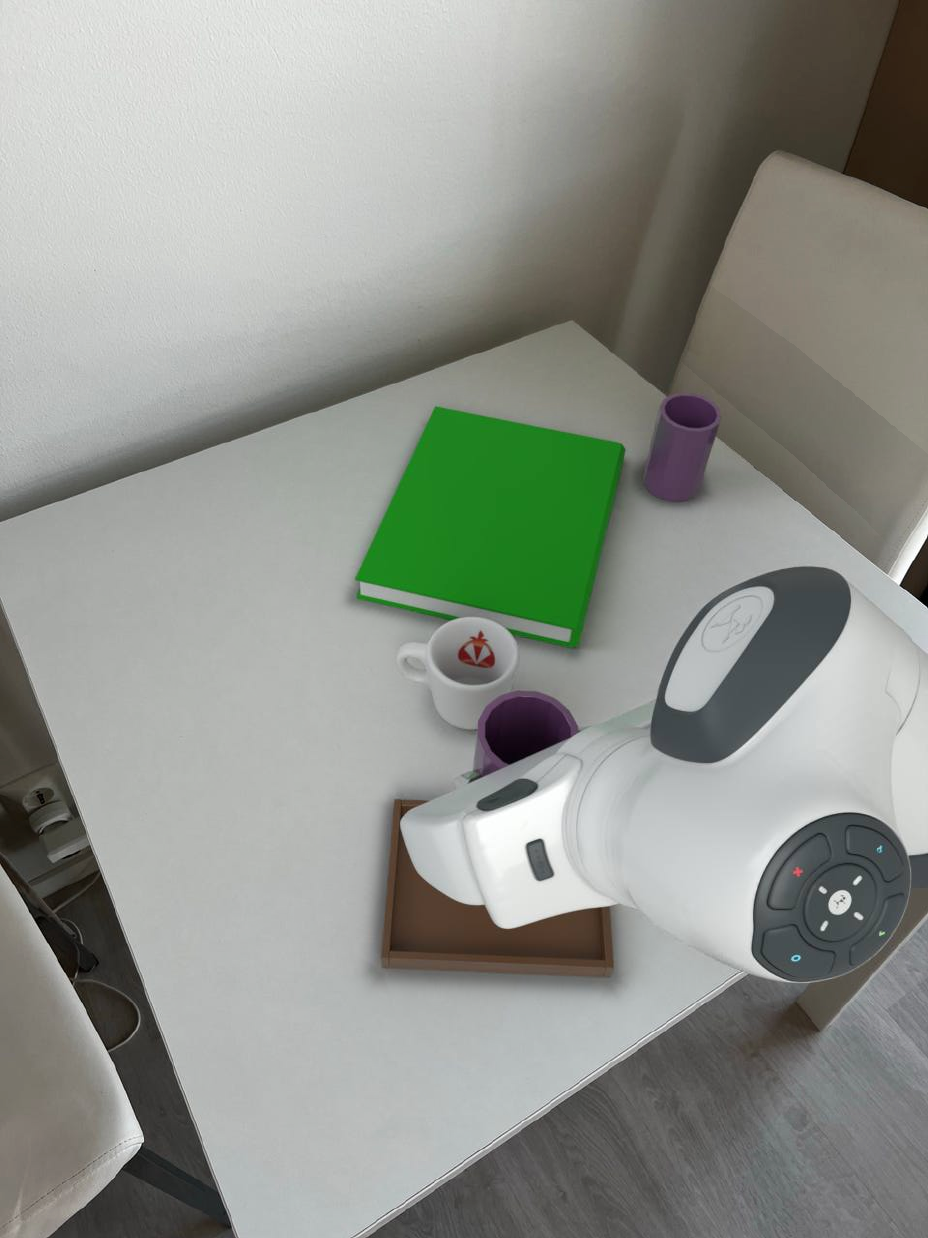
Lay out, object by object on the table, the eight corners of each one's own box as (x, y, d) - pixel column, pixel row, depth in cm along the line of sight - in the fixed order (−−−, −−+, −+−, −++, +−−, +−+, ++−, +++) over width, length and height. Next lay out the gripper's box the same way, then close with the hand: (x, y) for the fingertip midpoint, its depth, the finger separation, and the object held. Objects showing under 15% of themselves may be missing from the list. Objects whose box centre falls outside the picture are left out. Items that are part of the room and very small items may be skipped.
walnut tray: (598, 819, 80) (602, 808, 78) (609, 978, 71) (614, 968, 70) (394, 810, 80) (394, 798, 78) (381, 968, 71) (380, 958, 70)
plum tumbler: (558, 772, 69) (576, 692, 62) (560, 852, 65) (581, 778, 58) (470, 767, 69) (478, 687, 62) (468, 848, 65) (476, 773, 58)
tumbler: (695, 465, 109) (716, 394, 102) (702, 503, 105) (725, 432, 98) (640, 462, 109) (657, 391, 102) (645, 500, 105) (663, 429, 98)
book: (356, 598, 94) (355, 578, 92) (434, 426, 112) (435, 406, 110) (577, 649, 91) (582, 629, 89) (622, 464, 109) (626, 444, 107)
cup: (385, 723, 85) (382, 670, 79) (409, 655, 90) (409, 600, 84) (502, 750, 84) (509, 698, 78) (520, 680, 89) (528, 625, 83)
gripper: (759, 683, 54) (630, 663, 66) (437, 833, 47) (363, 778, 60) (787, 785, 54) (655, 746, 67) (476, 946, 48) (395, 868, 61)
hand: (516, 762), depth 63 cm, fingers closed on plum tumbler, 6 cm apart
